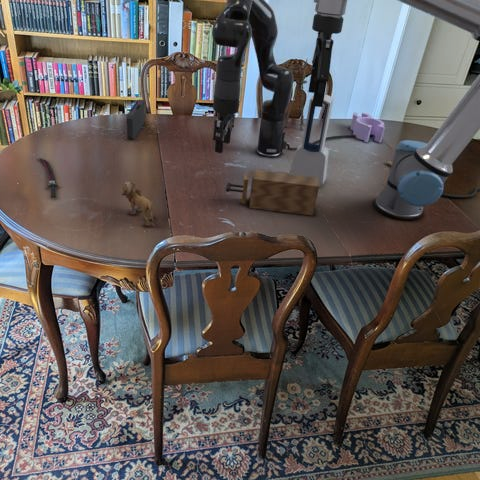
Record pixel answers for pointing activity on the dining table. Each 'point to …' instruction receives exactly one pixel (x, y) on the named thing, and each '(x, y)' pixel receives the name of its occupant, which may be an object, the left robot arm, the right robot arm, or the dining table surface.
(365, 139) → the clip
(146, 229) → the dining table surface
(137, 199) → the lion figurine
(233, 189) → the drawer
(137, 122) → the handheld gaming console
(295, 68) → the miniature windmill
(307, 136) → the electronic device
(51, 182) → the sword
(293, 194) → the cabinet
